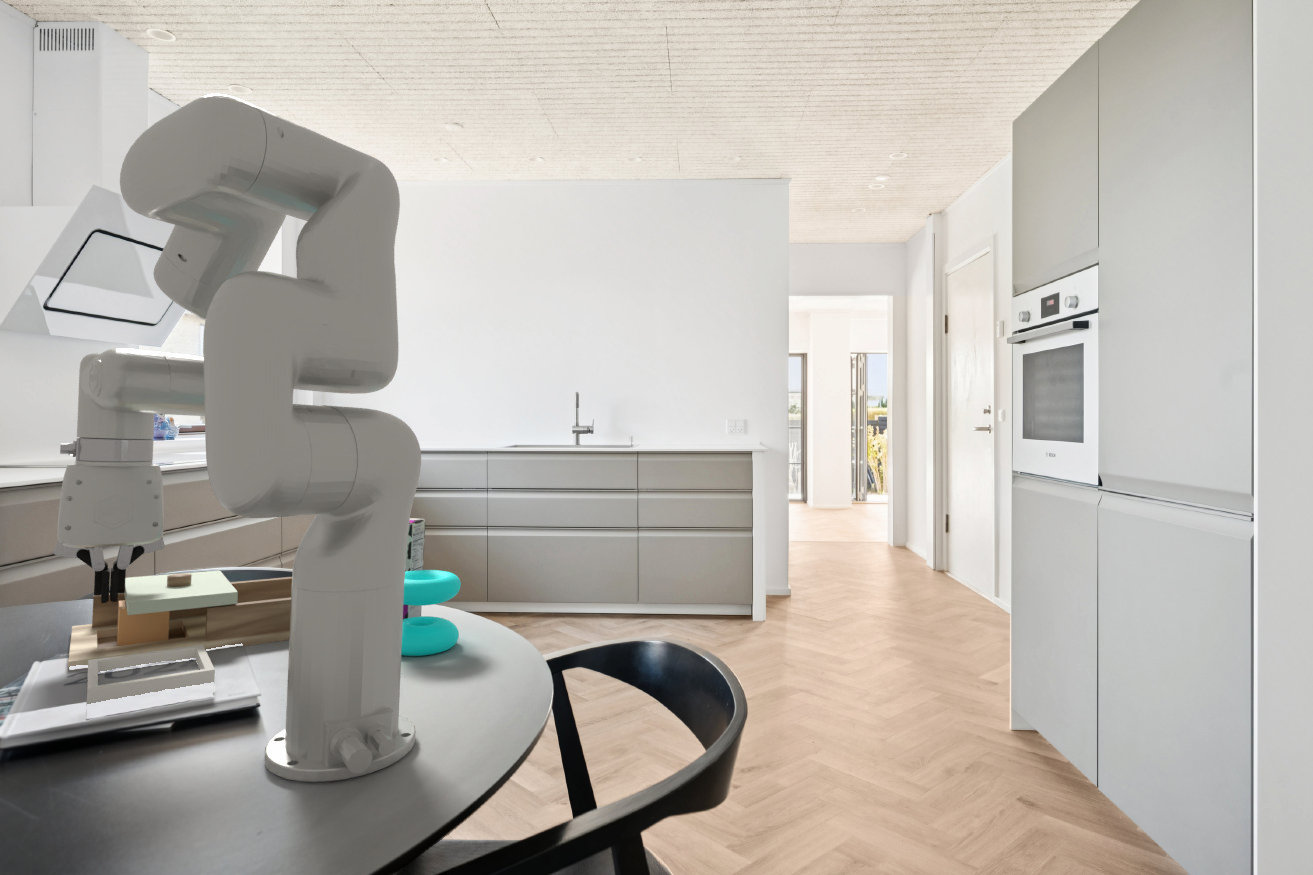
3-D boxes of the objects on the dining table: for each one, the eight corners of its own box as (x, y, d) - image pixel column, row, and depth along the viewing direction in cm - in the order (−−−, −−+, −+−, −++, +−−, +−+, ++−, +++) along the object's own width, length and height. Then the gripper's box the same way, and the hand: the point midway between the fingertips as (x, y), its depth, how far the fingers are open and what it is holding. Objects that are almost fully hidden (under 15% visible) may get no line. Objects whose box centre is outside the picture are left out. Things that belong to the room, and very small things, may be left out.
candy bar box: (336, 626, 101) (340, 517, 101) (354, 617, 106) (358, 514, 106) (407, 631, 100) (412, 521, 100) (422, 622, 105) (426, 517, 105)
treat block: (168, 643, 86) (169, 604, 86) (118, 649, 83) (119, 609, 83) (164, 633, 90) (166, 596, 90) (117, 639, 87) (118, 600, 87)
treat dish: (213, 696, 73) (214, 669, 73) (86, 719, 67) (87, 689, 67) (201, 669, 81) (202, 644, 81) (87, 687, 75) (88, 659, 75)
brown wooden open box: (328, 644, 93) (330, 596, 93) (67, 684, 75) (69, 625, 75) (299, 616, 106) (301, 574, 106) (71, 645, 88) (73, 594, 88)
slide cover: (237, 603, 86) (238, 582, 86) (127, 615, 79) (128, 592, 79) (219, 580, 98) (220, 562, 98) (123, 588, 91) (124, 568, 91)
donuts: (414, 565, 99) (474, 571, 97) (412, 633, 99) (472, 641, 97) (368, 578, 90) (433, 585, 87) (365, 653, 90) (430, 662, 87)
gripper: (32, 453, 76) (25, 615, 76) (191, 455, 86) (185, 599, 86) (35, 451, 82) (29, 601, 82) (184, 453, 92) (179, 588, 92)
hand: (109, 600), depth 84 cm, fingers closed
